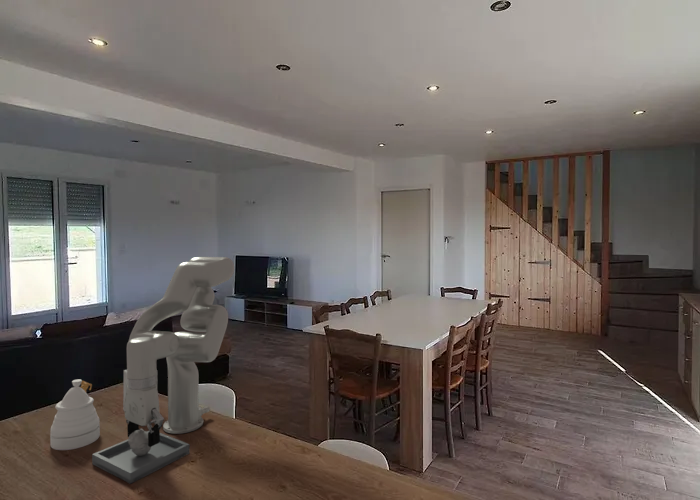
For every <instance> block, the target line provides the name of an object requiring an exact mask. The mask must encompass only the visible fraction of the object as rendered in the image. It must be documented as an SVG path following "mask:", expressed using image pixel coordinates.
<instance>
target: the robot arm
mask: <svg viewBox="0 0 700 500" xmlns="http://www.w3.org/2000/svg"><path fill="white" fill-rule="evenodd" d="M234 273H235V265H234V262H233V260H232V259H231V258H229V257H227V256H196V257H192V258H190V259H189V260H188V261H185V262H181V263H180V264H178V265H177V266H176V269H175V271H174V272H173V274H172V276H171V280H170V282H169V283H168V286H167V288H166V290H165V292H164V294H163V296H162V298H161V299H160V300H158V301H157V302H155V303H154V304H152V305H151V306H150V307H149V308H148V309H146V310H145V311H144V312H143V313H142V314H141V315H140V316H139V317H138V319H137V321H136V322H135V323H134V327H133V328H132V330H131V332H130V335H129V339H128V342H127V343H126V370H127V389H126V395H125V405H124V406H122V407H124V410H123V412H124V418H125V419H126V420H125V422H126V424H127V426H126V429H127V438H129V435H130V434H131V433H133V432H135V431H136V430H139V429H140V427H146V426H147V429H148V431H150V432H149V433H148V446H149V447H151V446H153V445H156V444H158V443H159V442H160V433H161V432H160V431H161V429H162V430H163V431H164V432H165V433H167V434H172V435H176V434H177V435H178V434H181V435H182V434H186V433H191V432H194V431H196V430H198V429H200V428H201V427H202V426H203V425H204V418H203V417H202V416H203V415H204V414H206V413H209V412H210V411H211V407H210V406H207V405H206V406H204V407H202V406H199V400H200V399H199V393H200V392H199V390H200V389H199V384H200V383H199V378H200V377H199V370H198V367H197V365H196V363H211V362H213V361H215V360H216V358H217V357H218V355H219V352H220V348H221V346H222V344H223V343H222V342H223V340H224V337H225V333H226V330H227V329H228V328H227V327H228V322H229V314H228V313H229V312H228V310H227V309H226V307H224V305H223V306H222V305H220V304H219V305H218V304H214V301H215V292H214V289H213V287H217V286H219V285H221V284H223V283H225V282H228V281H229V280H230V279H231V278H232V277H233V275H234ZM181 313H182V314H181ZM178 314H181V317H180V323H179V324H180V326H181V328H182V329H184V331H176V332H172V331H166V330H165V331H164V330H163V331H161V330H153V329H154V327H156V326H157V325H158V324H159V323H160V322H162V321H164V320H166V319H168V318H170V317H173V316H175V315H178ZM165 358H166V364H167V377H168V378H167V396H168V397H167V420H166V421H165V417H163V415H162V414H161V413H160V399H159V391H158V370H157V367H158V366H157V360H160V359H165ZM156 385H157V386H156ZM163 422H164V423H163ZM152 424H154V425H152Z"/></svg>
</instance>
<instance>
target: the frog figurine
mask: <svg viewBox="0 0 700 500" xmlns="http://www.w3.org/2000/svg"><path fill="white" fill-rule="evenodd" d="M127 440H128V443H129V445H130V448H132V452H133V453H134V454H135V455H137V456H143V455H145V454H147V453H148V452H149V451H150V449H151V447H149V446H148V432H147V430H144V429H143V428H139V430H136V431H135V432H133V433H131V434H130V435H129V437H128V439H127Z"/></svg>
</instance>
